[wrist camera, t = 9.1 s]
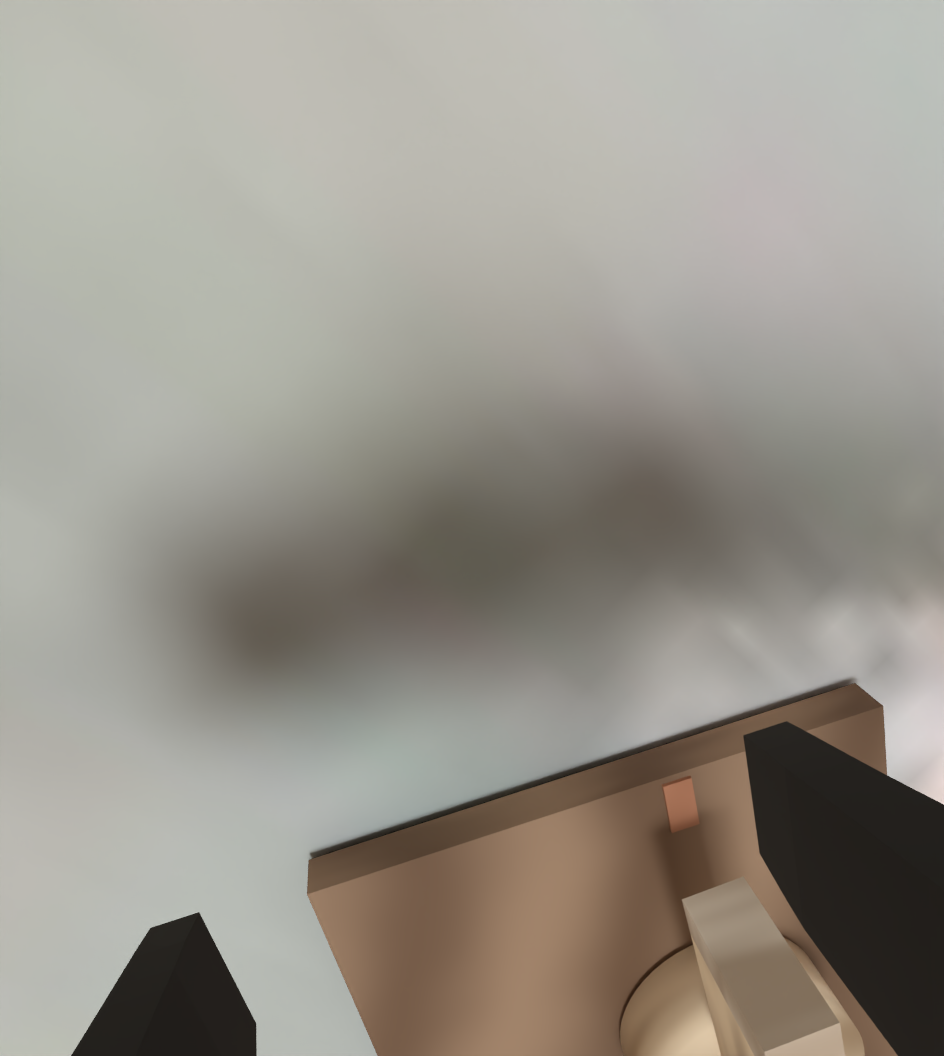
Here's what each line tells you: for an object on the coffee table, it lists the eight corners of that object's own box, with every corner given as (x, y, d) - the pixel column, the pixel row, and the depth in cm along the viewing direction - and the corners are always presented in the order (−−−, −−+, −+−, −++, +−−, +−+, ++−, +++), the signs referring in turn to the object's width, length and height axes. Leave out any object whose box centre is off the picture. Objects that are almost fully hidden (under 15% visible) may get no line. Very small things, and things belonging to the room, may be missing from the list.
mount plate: (855, 683, 22) (885, 707, 21) (881, 1054, 28) (906, 1090, 26) (308, 859, 21) (307, 897, 19) (457, 1207, 26) (462, 1253, 25)
